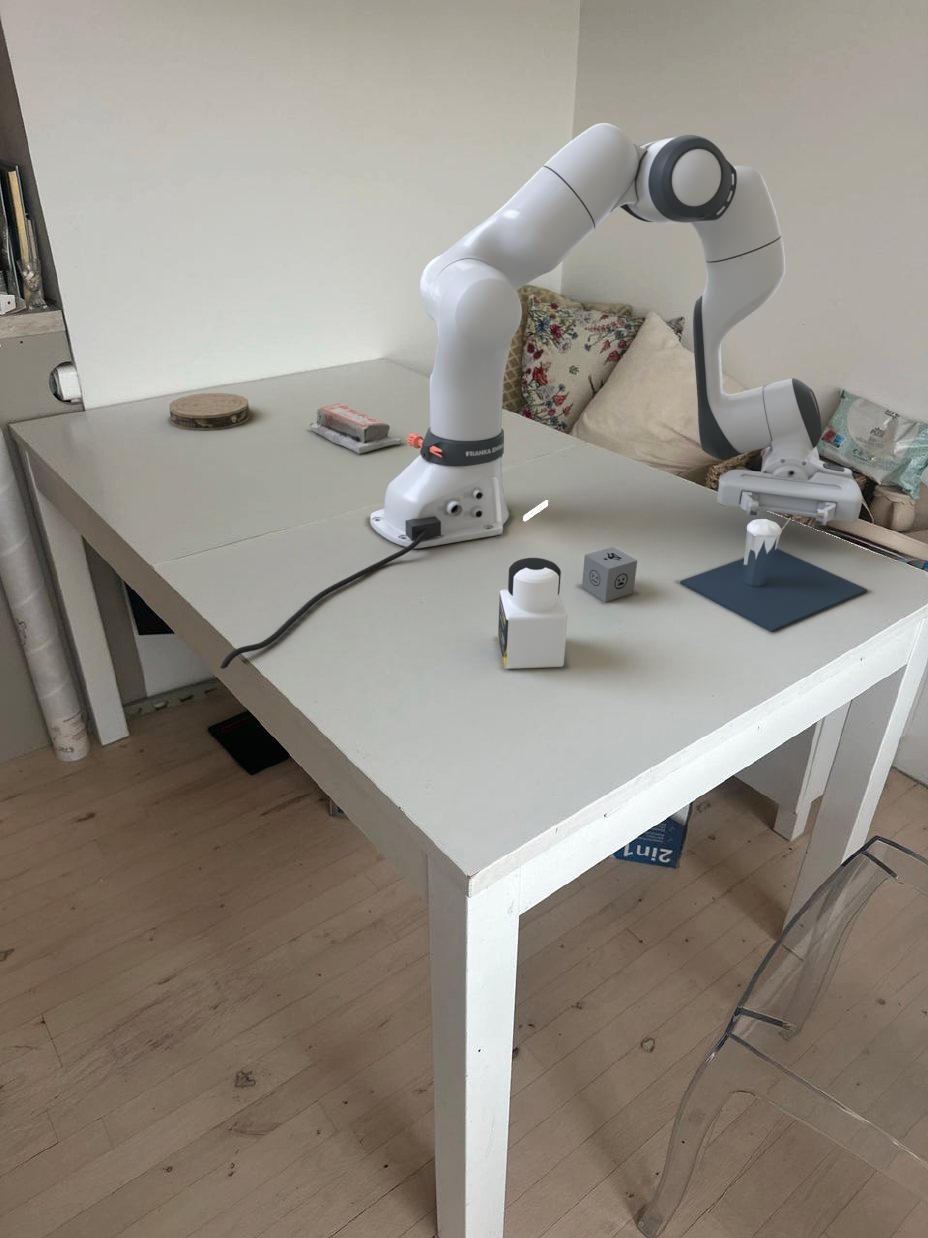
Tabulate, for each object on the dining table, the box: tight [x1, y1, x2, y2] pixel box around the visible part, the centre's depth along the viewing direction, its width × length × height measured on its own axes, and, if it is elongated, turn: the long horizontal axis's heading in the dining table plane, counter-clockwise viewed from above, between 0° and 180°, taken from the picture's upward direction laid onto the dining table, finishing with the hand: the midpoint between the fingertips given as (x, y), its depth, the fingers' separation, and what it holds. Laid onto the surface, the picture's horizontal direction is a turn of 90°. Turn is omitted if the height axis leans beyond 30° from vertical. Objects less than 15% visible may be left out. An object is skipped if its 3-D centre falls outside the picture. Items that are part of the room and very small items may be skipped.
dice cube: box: [581, 546, 638, 603], centre depth 124 cm, size 5×5×5 cm
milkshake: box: [742, 517, 791, 587], centre depth 125 cm, size 5×5×10 cm
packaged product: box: [309, 403, 402, 455], centre depth 178 cm, size 18×5×10 cm
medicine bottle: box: [497, 557, 569, 670], centre depth 108 cm, size 7×7×12 cm
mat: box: [679, 548, 868, 633], centre depth 127 cm, size 20×16×1 cm
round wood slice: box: [168, 392, 251, 431], centre depth 188 cm, size 16×16×3 cm
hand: (786, 515), depth 129 cm, fingers open, 8 cm apart
